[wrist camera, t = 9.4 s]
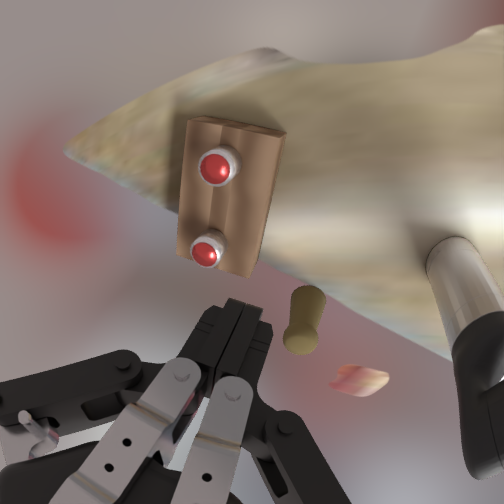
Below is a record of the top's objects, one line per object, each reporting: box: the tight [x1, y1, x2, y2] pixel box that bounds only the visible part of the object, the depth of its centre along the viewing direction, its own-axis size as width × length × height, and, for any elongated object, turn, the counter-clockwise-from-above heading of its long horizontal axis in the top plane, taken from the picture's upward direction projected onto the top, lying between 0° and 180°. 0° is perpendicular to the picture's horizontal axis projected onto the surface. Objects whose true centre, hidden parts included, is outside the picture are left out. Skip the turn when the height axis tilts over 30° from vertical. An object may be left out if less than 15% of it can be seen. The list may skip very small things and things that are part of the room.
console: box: [177, 116, 286, 279], centre depth 42 cm, size 12×21×5 cm, turn 170°
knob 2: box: [190, 229, 228, 268], centre depth 43 cm, size 4×4×7 cm
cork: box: [283, 286, 326, 355], centre depth 45 cm, size 6×6×11 cm
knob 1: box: [198, 145, 242, 187], centre depth 36 cm, size 4×4×7 cm
